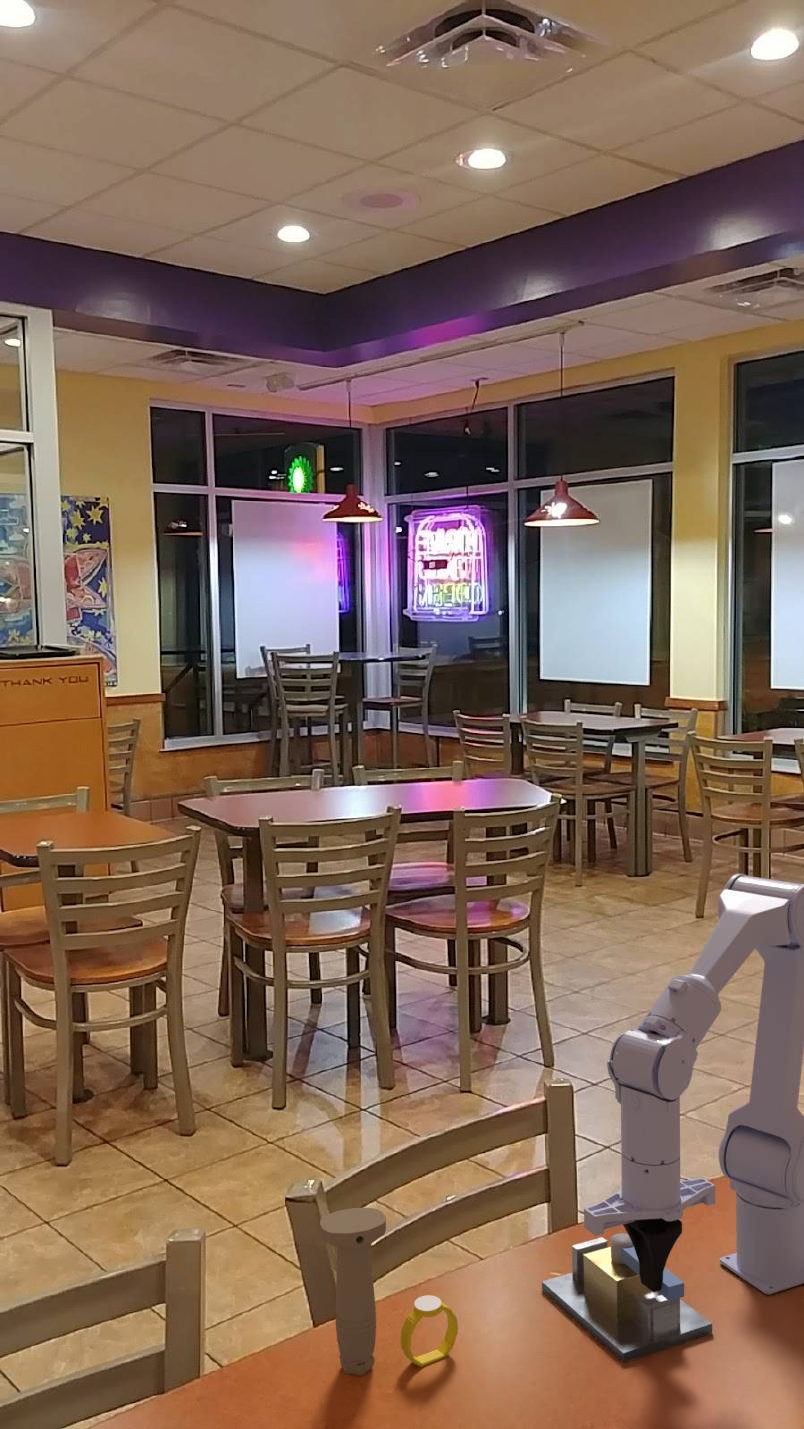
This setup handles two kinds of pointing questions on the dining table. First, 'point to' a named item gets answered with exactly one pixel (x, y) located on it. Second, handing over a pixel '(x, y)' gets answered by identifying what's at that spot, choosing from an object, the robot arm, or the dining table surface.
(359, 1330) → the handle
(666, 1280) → the lever
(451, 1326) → the watch
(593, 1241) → the valve
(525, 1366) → the dining table surface
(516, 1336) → the dining table surface
